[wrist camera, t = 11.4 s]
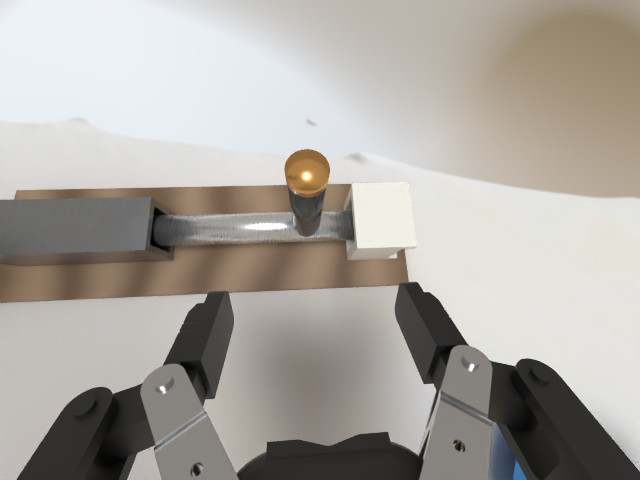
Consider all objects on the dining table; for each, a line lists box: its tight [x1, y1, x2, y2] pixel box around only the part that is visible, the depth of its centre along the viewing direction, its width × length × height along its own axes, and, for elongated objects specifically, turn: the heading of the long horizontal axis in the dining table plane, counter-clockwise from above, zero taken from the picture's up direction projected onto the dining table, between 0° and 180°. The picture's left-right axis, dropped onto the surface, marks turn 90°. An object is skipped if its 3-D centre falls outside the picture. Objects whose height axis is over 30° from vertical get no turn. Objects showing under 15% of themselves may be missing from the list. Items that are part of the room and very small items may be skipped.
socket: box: [343, 182, 417, 260], centre depth 25 cm, size 5×6×5 cm
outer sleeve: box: [0, 197, 175, 266], centre depth 24 cm, size 14×5×5 cm, turn 93°
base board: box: [0, 184, 409, 303], centre depth 27 cm, size 39×11×1 cm, turn 93°
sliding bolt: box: [150, 149, 355, 247], centre depth 20 cm, size 22×3×12 cm, turn 93°
